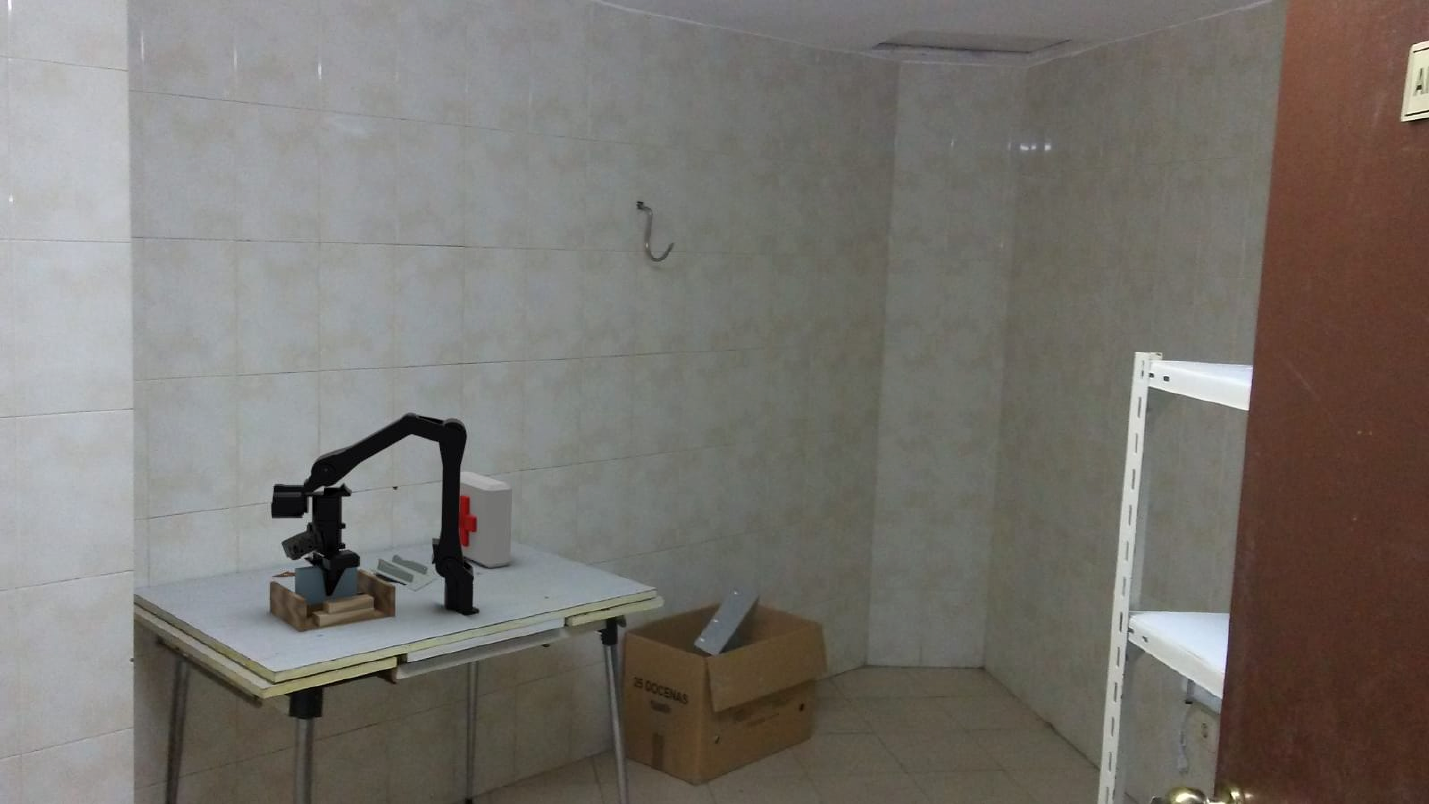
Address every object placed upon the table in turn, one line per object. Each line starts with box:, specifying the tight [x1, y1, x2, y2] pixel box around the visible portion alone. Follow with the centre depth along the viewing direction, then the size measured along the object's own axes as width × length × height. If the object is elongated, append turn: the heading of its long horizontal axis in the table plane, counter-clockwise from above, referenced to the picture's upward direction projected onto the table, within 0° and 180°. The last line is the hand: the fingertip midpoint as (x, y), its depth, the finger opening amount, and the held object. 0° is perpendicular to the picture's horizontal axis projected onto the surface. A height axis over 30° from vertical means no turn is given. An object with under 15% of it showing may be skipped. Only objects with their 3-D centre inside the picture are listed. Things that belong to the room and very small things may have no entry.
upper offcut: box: [323, 594, 374, 615], centre depth 229 cm, size 3×9×2 cm, turn 131°
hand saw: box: [271, 570, 295, 578], centre depth 255 cm, size 24×5×1 cm, turn 161°
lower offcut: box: [312, 608, 374, 627], centre depth 229 cm, size 4×11×2 cm, turn 131°
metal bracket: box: [369, 553, 442, 592], centre depth 263 cm, size 14×6×15 cm
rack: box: [269, 568, 397, 633], centre depth 233 cm, size 16×19×7 cm
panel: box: [294, 565, 358, 605], centre depth 235 cm, size 2×12×9 cm, turn 131°
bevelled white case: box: [459, 471, 513, 569], centre depth 284 cm, size 21×8×20 cm, turn 40°
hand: (326, 594), depth 235 cm, fingers closed on panel, 2 cm apart
